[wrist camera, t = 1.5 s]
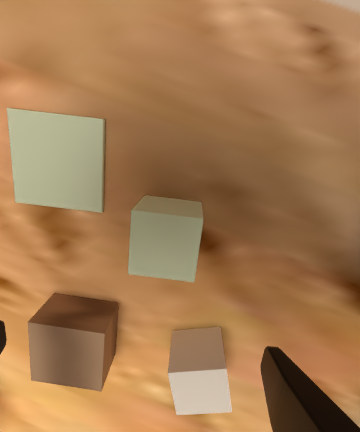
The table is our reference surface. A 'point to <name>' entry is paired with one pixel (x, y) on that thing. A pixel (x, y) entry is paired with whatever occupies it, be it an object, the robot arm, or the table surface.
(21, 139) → the tile
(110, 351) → the walnut base
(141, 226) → the sage block
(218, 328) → the grey block
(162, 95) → the table surface
